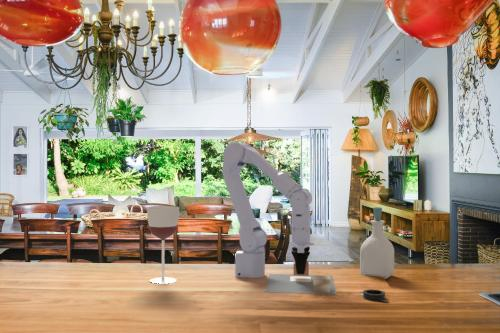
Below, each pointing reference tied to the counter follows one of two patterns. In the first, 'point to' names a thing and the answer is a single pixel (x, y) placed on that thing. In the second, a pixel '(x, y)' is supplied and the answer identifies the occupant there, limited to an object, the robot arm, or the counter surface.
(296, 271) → the base block
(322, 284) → the top block
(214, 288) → the counter surface
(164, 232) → the wineglass
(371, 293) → the duct tape
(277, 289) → the board
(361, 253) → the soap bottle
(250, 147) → the robot arm
